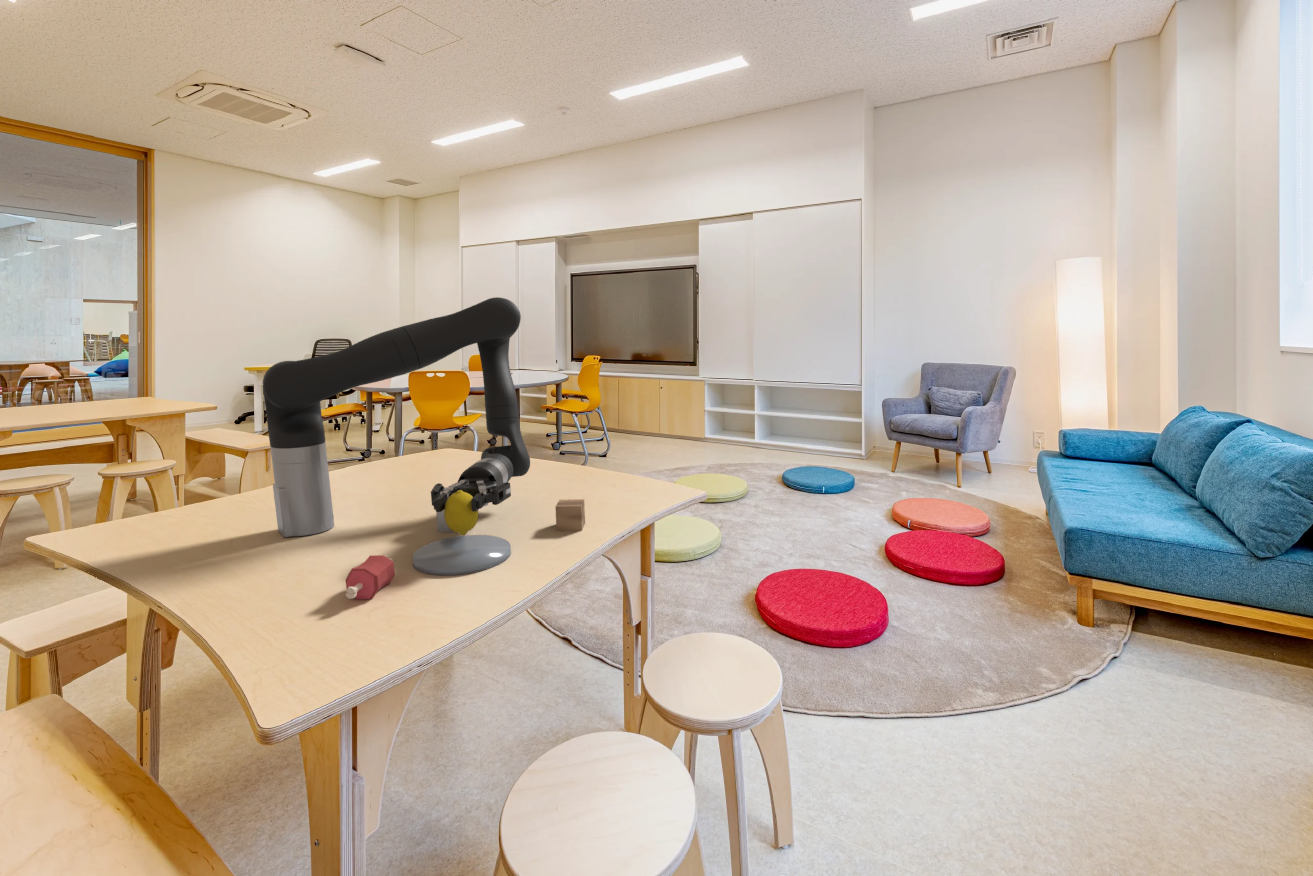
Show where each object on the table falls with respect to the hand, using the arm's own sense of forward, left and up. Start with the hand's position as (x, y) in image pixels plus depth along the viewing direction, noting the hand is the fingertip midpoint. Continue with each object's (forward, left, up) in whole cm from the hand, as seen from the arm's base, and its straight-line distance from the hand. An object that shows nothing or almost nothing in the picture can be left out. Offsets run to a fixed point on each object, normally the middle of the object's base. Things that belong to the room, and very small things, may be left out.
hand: (455, 506), depth 98 cm
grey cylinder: (+7, +19, -10) cm, 22 cm away
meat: (-15, -2, -10) cm, 18 cm away
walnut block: (+24, +3, -10) cm, 26 cm away
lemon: (+2, +2, -6) cm, 7 cm away
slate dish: (+1, +2, -10) cm, 10 cm away
